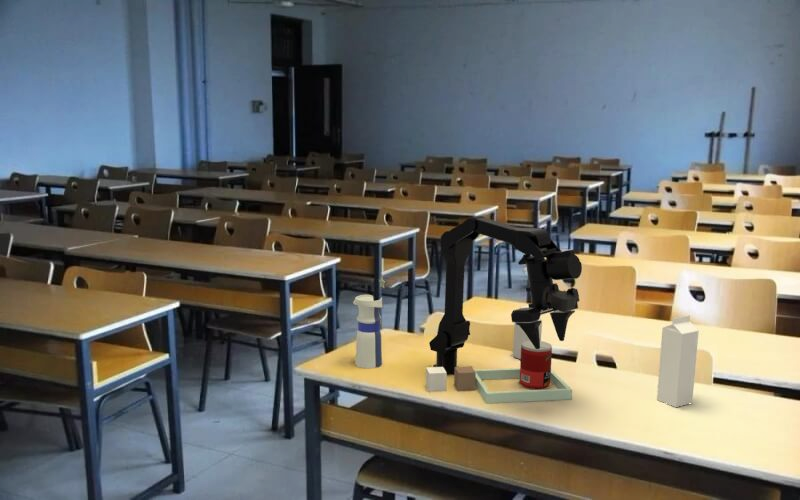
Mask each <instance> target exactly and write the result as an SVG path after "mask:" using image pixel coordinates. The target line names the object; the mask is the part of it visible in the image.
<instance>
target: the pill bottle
mask: <svg viewBox="0 0 800 500" xmlns="http://www.w3.org/2000/svg"><path fill="white" fill-rule="evenodd" d="M521 308H529V305H521V306H520V307H519V309H521ZM538 321H542V322H541V324H540V325H539V338H540V341H542V330H543V328H542V327H543V320H542V318H541V317H540V318H539V320H538ZM513 325H514V327H513V343H512V344H513V345H512V346H513V347H512V355H513V357H514V358H516V359H518V360H521V344H522V343H523V342H525V341H530V339H529V338H528V336H527V335H526V334H525V332H524V331H523V330H522V328H521V327H520V326H519V325H516V322H513Z"/></svg>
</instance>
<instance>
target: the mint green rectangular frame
mask: <svg viewBox="0 0 800 500" xmlns="http://www.w3.org/2000/svg"><path fill="white" fill-rule="evenodd" d="M474 371H475V372H476V375H475V389H477V392H479V394H480V396H481V398H483V401H484V402H485V404H498V403H499V404H500V403H518V402H519V403H521V402H522V403H523V402H543V401H546V402H547V401H561V400H562V401H565V400H567V401H568V400H573V389H572V388H571V387H570V386H569V385H568V384H567V383H566V382H565V381H564V380H563V379H562V378H561V377H560V376H559V375H558V373H556V372H555V371H554V370H553V369H552V368H551V377H550V383H552V384H553V386H555V388H551V389H550V388H548V389H547V388H546V389H527V390H506V391H504V390H503V391H490V390H489V388H488V387H487V386H486V385H485V383H484V381H483V380H485V381H487V380H504V379H505V380H506V379H507V380H508V379H509V380H510V379H520V367H512V368H509V367H508V368H493V369H492V368H490V369H488V368H487V369H485V368H484V369H474Z"/></svg>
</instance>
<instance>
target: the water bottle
mask: <svg viewBox="0 0 800 500" xmlns="http://www.w3.org/2000/svg"><path fill="white" fill-rule="evenodd" d="M380 277H381V278H380V279H378V281H379V283H380V284H379V287H380V288H383V289H385V283H386V281H385V280H384V279H383V276H380ZM352 304H353V305H355V306H357V308H358V315H357V316H356V320H357V322H358V323H357V332H356V339H355V341H356V342H355V343H356V344H355V366H357V367H359V368H362V369H375V368H376V367H377V368H380V367H382V365H383V351H382V350H383V346H382V345H383V343H382V341H383V340H382V336H383V335H382V330H381V326H382V317H381V314H380V308H381V309H383V308H384V307H383V297H380V299H377V300H374V296H373V295H371V294H360V295H357V296H355V298H354V300H353V301H352ZM379 366H380V367H379Z"/></svg>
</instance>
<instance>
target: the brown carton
mask: <svg viewBox="0 0 800 500" xmlns="http://www.w3.org/2000/svg"><path fill="white" fill-rule="evenodd" d="M474 370H475V369H474V368H473V367H472V366H457V367H455V373H454V375H453V377H454V378H453V381H454V383H453V385H454V387H455V389H456V390H457V392H472V391H474V392H475V391H476V387H475V375H476V372H475V371H474Z"/></svg>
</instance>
